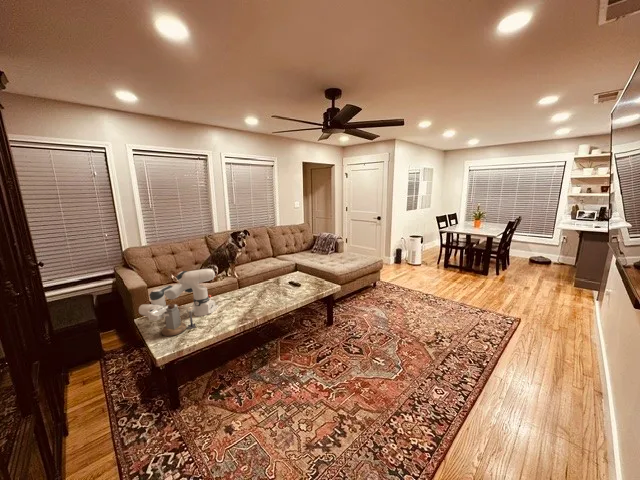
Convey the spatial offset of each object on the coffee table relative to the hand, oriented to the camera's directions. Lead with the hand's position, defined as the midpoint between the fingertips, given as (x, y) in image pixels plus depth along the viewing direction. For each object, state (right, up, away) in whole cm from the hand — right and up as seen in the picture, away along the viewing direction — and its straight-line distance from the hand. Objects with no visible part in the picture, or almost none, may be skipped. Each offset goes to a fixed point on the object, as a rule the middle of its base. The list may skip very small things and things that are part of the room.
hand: (173, 312), depth 195 cm
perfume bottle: (-1, -12, +2) cm, 12 cm away
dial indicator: (+10, -14, +9) cm, 19 cm away
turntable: (-1, -15, +3) cm, 15 cm away
